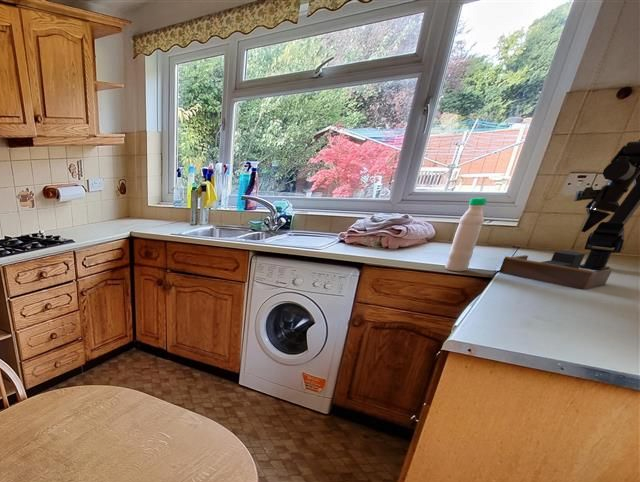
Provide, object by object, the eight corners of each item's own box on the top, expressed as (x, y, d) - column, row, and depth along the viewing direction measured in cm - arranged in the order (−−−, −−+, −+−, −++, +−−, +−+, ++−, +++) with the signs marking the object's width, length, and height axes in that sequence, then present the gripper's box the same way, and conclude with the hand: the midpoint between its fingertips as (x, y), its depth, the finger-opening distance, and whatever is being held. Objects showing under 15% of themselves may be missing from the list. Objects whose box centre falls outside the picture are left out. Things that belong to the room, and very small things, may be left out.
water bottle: (460, 272, 159) (484, 199, 147) (440, 269, 164) (462, 198, 153) (470, 270, 162) (495, 198, 150) (451, 266, 167) (473, 196, 155)
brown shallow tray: (519, 268, 162) (525, 253, 159) (604, 284, 141) (613, 267, 138) (498, 272, 158) (504, 256, 155) (583, 289, 137) (591, 271, 135)
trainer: (553, 273, 155) (563, 250, 151) (574, 277, 149) (585, 253, 146) (529, 277, 151) (539, 254, 147) (551, 281, 145) (561, 257, 142)
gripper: (584, 179, 152) (552, 224, 160) (592, 176, 139) (557, 225, 147) (624, 187, 147) (590, 233, 155) (636, 185, 134) (597, 235, 142)
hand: (582, 231), depth 150 cm, fingers closed
